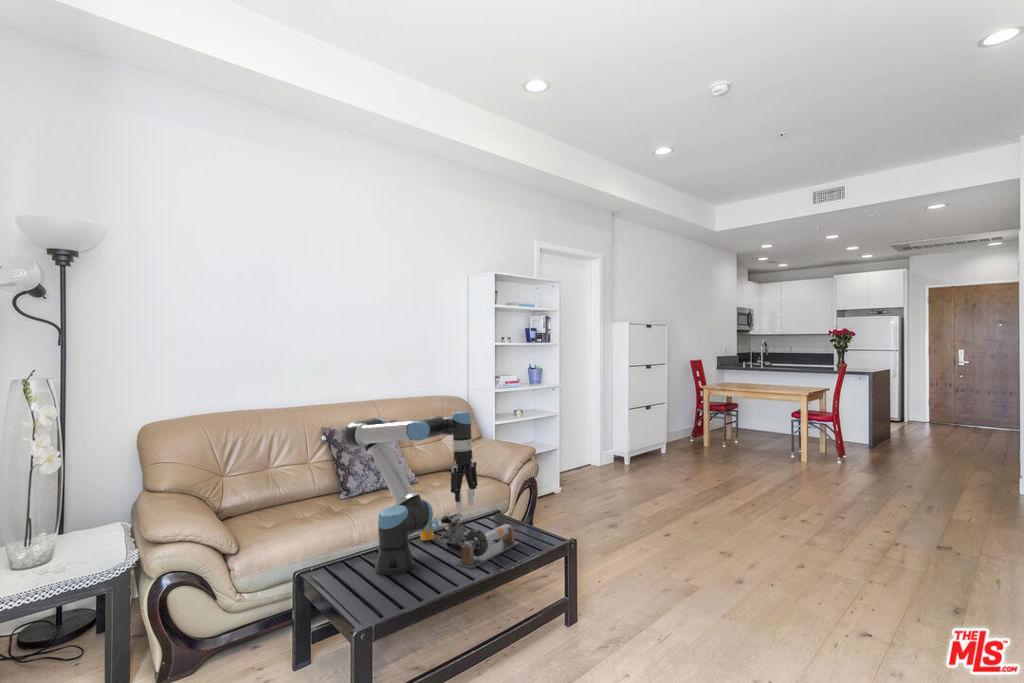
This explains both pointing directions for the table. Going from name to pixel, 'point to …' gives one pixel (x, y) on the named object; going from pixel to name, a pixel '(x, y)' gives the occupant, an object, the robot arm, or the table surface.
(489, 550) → the grey rail stand
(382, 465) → the robot arm
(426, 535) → the yellow blue looped tower
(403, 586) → the table surface
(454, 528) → the figurine
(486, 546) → the dark gear wheel
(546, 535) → the table surface
